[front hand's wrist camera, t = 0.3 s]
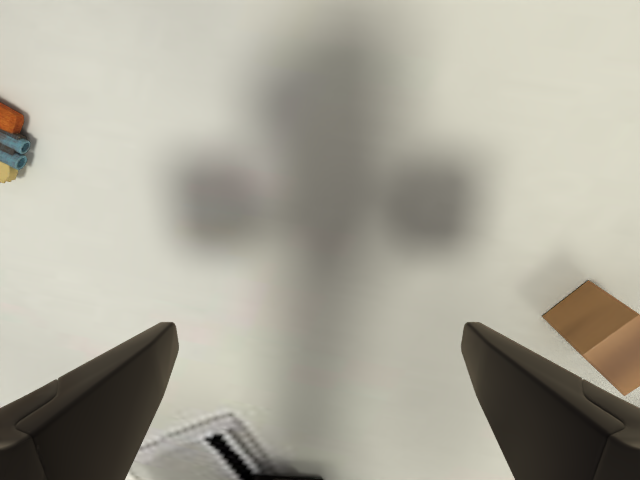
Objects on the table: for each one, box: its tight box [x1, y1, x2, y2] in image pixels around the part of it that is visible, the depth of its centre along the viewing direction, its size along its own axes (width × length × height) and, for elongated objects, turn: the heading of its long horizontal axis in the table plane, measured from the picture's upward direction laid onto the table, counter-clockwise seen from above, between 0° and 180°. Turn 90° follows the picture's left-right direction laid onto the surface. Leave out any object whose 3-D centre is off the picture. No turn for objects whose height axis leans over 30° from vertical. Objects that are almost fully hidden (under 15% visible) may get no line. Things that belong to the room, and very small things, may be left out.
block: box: [542, 280, 640, 396], centre depth 25 cm, size 5×4×4 cm
